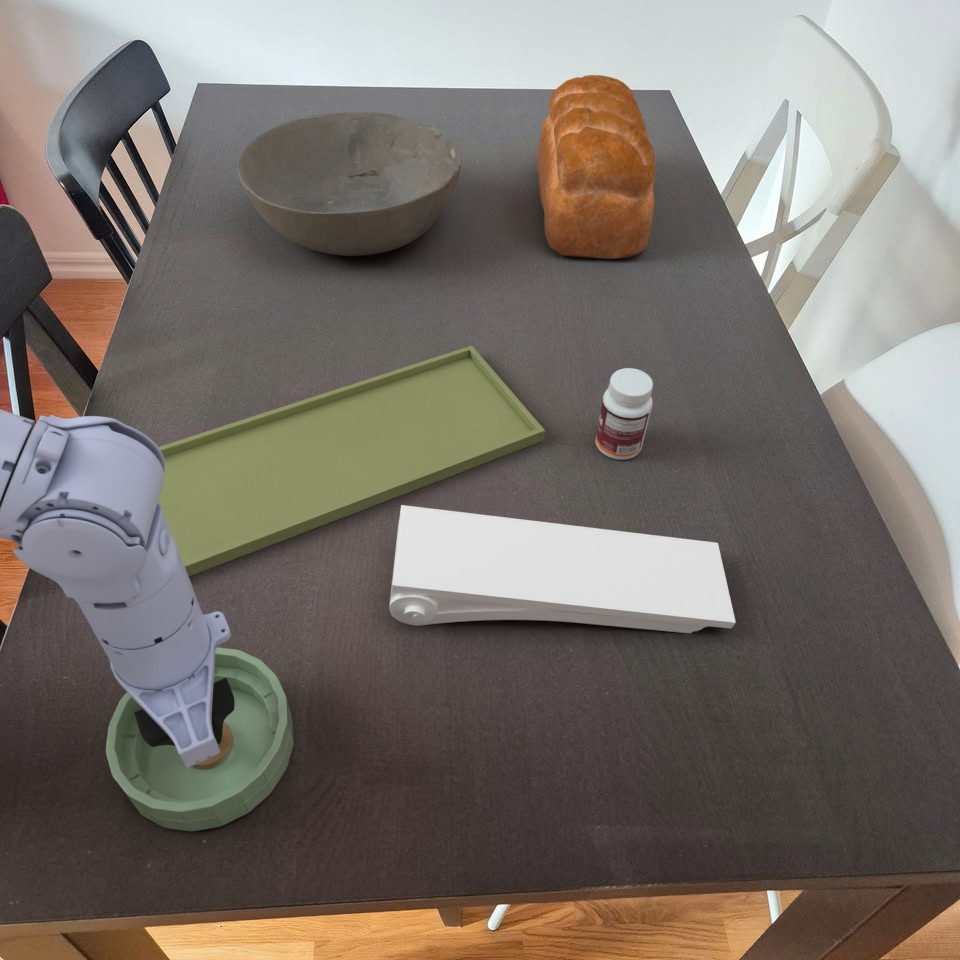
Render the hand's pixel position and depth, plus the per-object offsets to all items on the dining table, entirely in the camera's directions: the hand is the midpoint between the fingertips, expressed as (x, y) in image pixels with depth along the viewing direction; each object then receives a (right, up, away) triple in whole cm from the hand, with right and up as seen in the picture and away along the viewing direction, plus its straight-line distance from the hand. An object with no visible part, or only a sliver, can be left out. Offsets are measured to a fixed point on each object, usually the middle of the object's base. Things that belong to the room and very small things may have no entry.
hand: (195, 717), depth 58 cm
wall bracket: (+26, +7, +14) cm, 31 cm away
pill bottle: (+34, +20, +27) cm, 47 cm away
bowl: (+3, +50, +53) cm, 73 cm away
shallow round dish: (0, -3, +4) cm, 5 cm away
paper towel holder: (0, -3, +3) cm, 4 cm away
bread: (+35, +54, +58) cm, 86 cm away
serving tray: (+5, +19, +24) cm, 31 cm away
